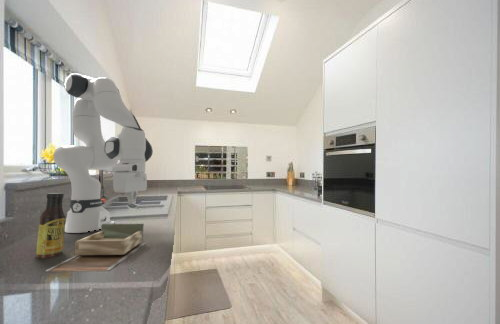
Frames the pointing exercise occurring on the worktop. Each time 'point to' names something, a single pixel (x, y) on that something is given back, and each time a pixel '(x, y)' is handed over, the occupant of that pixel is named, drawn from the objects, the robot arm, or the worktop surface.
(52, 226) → the sauce bottle
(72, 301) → the worktop surface
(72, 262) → the flat board
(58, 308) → the worktop surface
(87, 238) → the shallow wooden tray
